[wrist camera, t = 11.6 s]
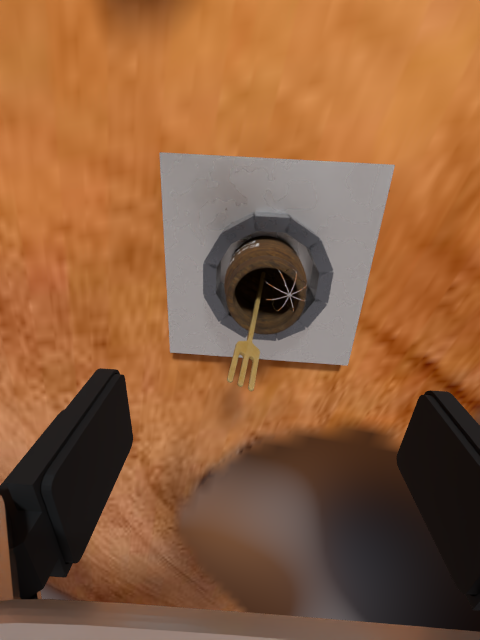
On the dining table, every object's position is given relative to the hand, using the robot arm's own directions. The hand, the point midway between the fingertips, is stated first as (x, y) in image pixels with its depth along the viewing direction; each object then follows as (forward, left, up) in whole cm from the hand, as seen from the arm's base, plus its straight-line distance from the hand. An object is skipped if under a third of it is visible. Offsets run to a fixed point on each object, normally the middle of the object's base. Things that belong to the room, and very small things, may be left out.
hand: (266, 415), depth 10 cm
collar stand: (0, 0, -19) cm, 19 cm away
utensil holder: (0, 0, -18) cm, 18 cm away
